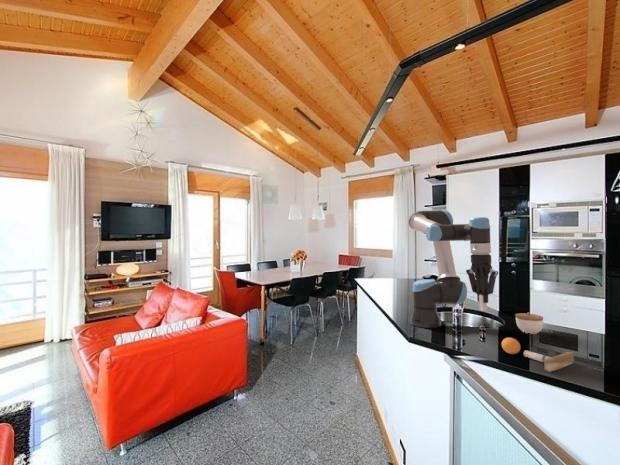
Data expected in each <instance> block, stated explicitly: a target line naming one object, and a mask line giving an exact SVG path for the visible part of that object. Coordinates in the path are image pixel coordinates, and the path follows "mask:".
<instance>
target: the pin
mask: <svg viewBox="0 0 620 465" xmlns="http://www.w3.org/2000/svg"><path fill="white" fill-rule="evenodd" d="M523 357H525V358H527V357H528V358H527V359H531V360H535V361H538V362H541V363H543V364H544V360H546V359H549V358H552V357H553V356H552V357H551V356H548V355H544V354H540V353H537V352H534V351H530V350H528V349H527V350H524V351H523Z"/></svg>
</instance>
